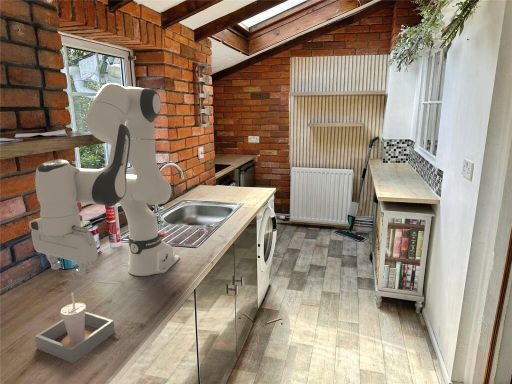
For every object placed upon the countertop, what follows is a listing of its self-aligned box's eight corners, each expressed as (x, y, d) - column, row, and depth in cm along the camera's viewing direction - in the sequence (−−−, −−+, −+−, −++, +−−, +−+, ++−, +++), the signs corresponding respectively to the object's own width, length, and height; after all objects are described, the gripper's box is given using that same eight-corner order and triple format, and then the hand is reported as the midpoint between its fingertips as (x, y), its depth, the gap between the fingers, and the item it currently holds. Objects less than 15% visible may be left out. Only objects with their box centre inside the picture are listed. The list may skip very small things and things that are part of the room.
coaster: (79, 328, 104) (79, 327, 104) (99, 335, 101) (98, 334, 101) (54, 345, 97) (54, 343, 96) (75, 353, 93) (75, 351, 93)
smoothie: (93, 331, 102) (88, 288, 98) (83, 346, 96) (77, 300, 92) (71, 331, 102) (65, 288, 98) (59, 346, 95) (53, 300, 92)
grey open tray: (80, 320, 108) (79, 309, 107) (114, 332, 102) (113, 320, 101) (37, 348, 95) (35, 336, 94) (73, 363, 90) (71, 350, 89)
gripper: (100, 225, 89) (106, 274, 93) (46, 215, 97) (53, 260, 100) (80, 233, 83) (86, 285, 87) (24, 221, 91) (32, 269, 95)
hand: (68, 271), depth 94 cm, fingers open, 8 cm apart
